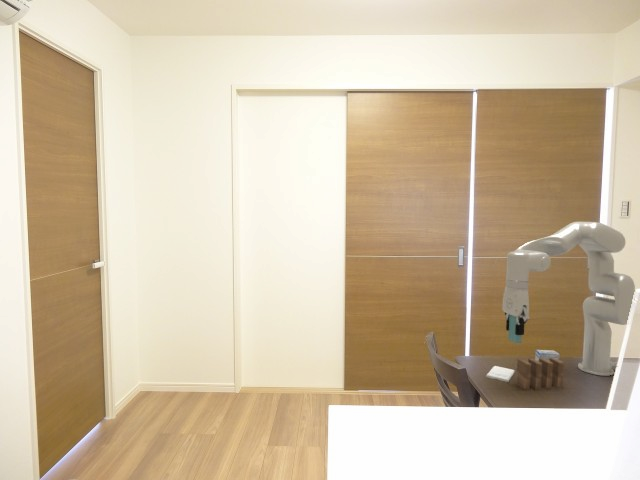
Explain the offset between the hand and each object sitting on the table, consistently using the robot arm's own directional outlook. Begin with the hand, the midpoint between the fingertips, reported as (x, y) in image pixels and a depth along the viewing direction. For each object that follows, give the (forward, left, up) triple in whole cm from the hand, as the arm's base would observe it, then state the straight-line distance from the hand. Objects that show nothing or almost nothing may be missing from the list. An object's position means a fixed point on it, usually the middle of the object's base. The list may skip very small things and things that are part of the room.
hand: (514, 332), depth 152 cm
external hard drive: (-3, -12, -22) cm, 26 cm away
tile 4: (-4, 0, -22) cm, 22 cm away
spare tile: (0, 0, -3) cm, 3 cm away
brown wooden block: (-9, 0, -22) cm, 23 cm away
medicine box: (-24, -13, -22) cm, 35 cm away
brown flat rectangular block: (-13, 0, -22) cm, 25 cm away
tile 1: (-18, 0, -22) cm, 28 cm away
